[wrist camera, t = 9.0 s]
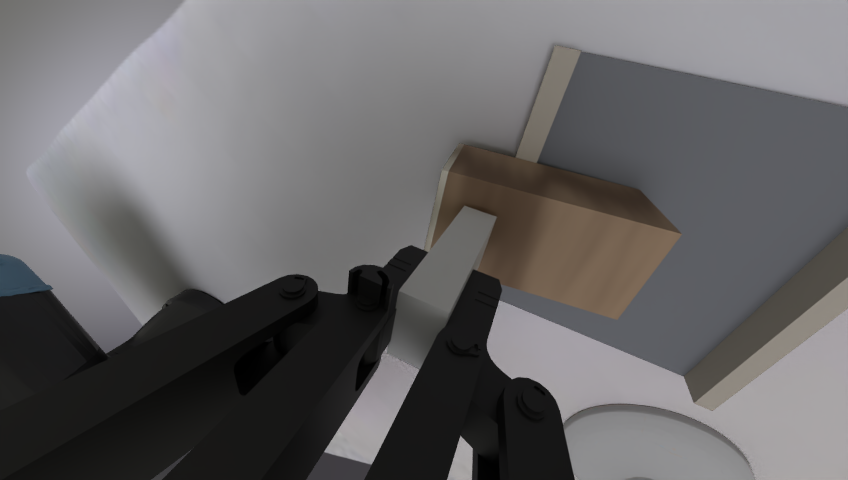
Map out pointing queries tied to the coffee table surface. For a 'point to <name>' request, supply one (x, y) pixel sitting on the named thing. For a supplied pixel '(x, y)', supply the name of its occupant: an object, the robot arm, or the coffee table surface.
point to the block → (556, 229)
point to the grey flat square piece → (705, 212)
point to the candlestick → (649, 446)
